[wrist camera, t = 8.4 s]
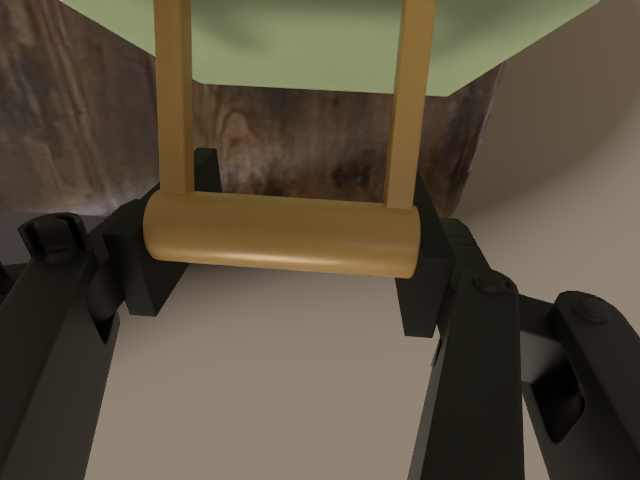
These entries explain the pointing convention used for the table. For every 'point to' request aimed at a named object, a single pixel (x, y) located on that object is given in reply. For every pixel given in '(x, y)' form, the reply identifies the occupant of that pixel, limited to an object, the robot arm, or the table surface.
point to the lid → (320, 74)
